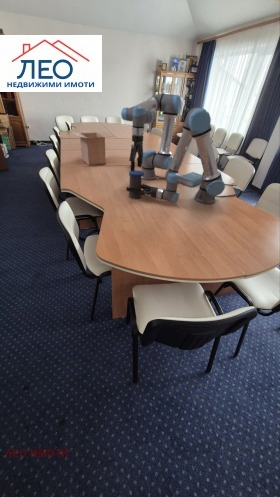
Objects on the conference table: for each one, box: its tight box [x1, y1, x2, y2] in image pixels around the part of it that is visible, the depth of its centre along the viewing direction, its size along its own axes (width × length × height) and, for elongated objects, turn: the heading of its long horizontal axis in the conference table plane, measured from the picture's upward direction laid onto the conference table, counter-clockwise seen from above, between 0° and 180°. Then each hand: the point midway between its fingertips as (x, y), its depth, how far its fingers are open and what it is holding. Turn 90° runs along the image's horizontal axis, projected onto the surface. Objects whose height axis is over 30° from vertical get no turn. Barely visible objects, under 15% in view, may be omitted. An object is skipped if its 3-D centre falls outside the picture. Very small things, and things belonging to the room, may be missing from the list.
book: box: [178, 171, 202, 188], centre depth 201 cm, size 23×16×5 cm
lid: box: [128, 169, 143, 177], centre depth 159 cm, size 10×10×2 cm
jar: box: [128, 175, 143, 200], centre depth 164 cm, size 9×9×18 cm
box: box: [70, 129, 114, 166], centre depth 229 cm, size 44×36×27 cm
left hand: (135, 168), depth 157 cm, fingers open, 11 cm apart
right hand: (129, 186), depth 167 cm, fingers closed on jar, 9 cm apart
